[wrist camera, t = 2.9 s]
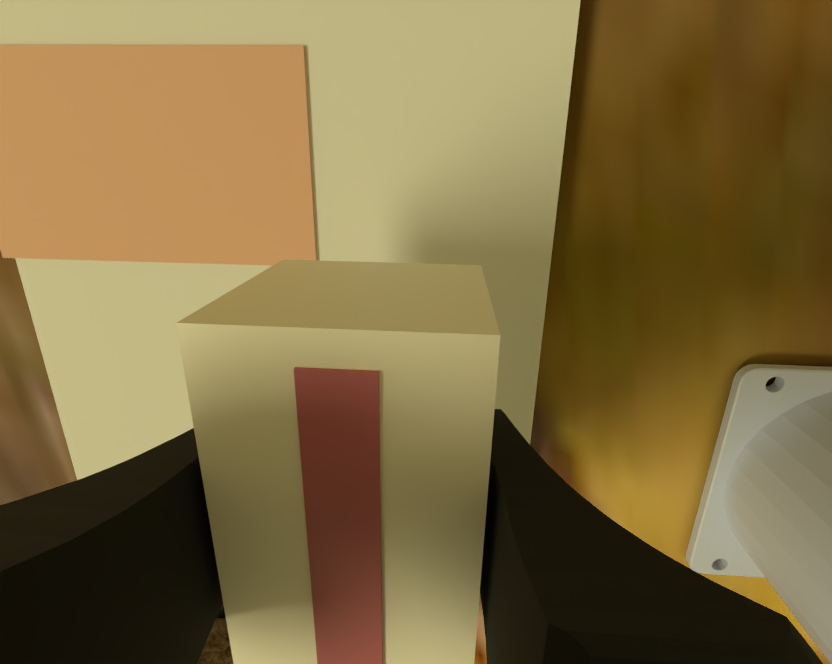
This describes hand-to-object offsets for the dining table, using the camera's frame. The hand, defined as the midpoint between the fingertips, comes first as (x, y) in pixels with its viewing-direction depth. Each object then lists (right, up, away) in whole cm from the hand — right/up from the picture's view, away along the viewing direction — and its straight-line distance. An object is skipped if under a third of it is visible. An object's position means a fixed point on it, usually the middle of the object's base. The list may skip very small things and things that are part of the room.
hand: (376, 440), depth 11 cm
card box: (0, 0, +1) cm, 1 cm away
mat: (-3, +4, +4) cm, 6 cm away
